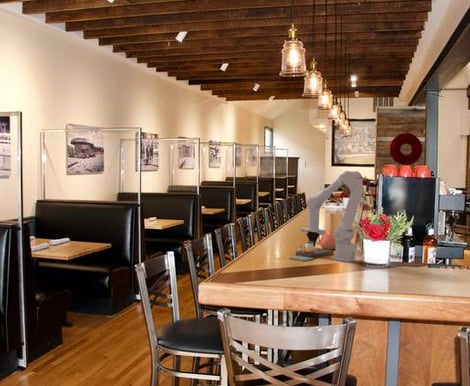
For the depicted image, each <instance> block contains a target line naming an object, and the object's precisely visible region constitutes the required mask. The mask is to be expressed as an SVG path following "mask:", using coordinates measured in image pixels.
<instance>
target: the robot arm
mask: <svg viewBox="0 0 470 386" xmlns="http://www.w3.org/2000/svg"><path fill="white" fill-rule="evenodd" d="M363 180H364V177H363V175H362V173H361V172H359V171H356V170H355V171H350V170H345V171H343V172H342V173H341V174H339V176H338V177H337V178H336V179H334V180H333V181H332V183H331V184H329V186H328V187H326V188H325V187H323V188H320V189H319V191H318V192H317V193H316V194H313V196H312V197H311V196H310V197H308V199H307V200H306V207H307V210H308V212H307V214H308V215H307V227H300V232H304V233H306V236H307V238H308V241H314V243H313V248H316V245H317V241H318V237H319V238H320V236H321V235H320V234H326V233H327V230H325V229H320V211H321V208H322V205H323V204H324V203H325V202H326V201H327V200H329V199H330V198H331V196H332V193H334V192H335V191H337V190H338V189H339V188H340V187H342V186H343V185H345V186H346V187H347V188H348V189H349V191H350V194H349V198H348V201H347V203H346V207H345V210H344V213H343V217H342V219H341V222H339V224H338V225H337V227H336V229H335V230H333V237H334V239H335V240H336V241H335V242H336V249H335V250H334V255H335V256H334V257H332V258H331V260H334V261H339V262H345V263H350V262H354V261H357V259H356V257H357V255H356V254H357V253H356V252H357V251H356V250H357V247H356V244H355V243H352V242H351V241H352V239H353V238H354V230H355V227H354V225H353V224H354V221H355V218H356V214H357V212H358V209H359V206H360V203H361V200H362V197H363V193H364V186H363V185H364V184H363V183H364V181H363ZM319 235H320V236H319Z"/></svg>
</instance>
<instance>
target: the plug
mask: <svg viewBox="0 0 470 386" xmlns="http://www.w3.org/2000/svg"><path fill="white" fill-rule="evenodd" d="M313 243H314V241H309V240H305V246H306V247H305V248H303V250H304V252H306V253H314V252H315V250H314V247H313Z"/></svg>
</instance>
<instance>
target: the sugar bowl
mask: <svg viewBox="0 0 470 386" xmlns="http://www.w3.org/2000/svg"><path fill="white" fill-rule="evenodd" d="M333 233H334V230H328V232H326V234H320V235H319V237H318V239H317V241H316V245H317V246H320V248H322V249H328V250H334V249H336V242H335V241H336V240H335V239H334V237H333ZM320 236H321V237H320Z"/></svg>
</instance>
